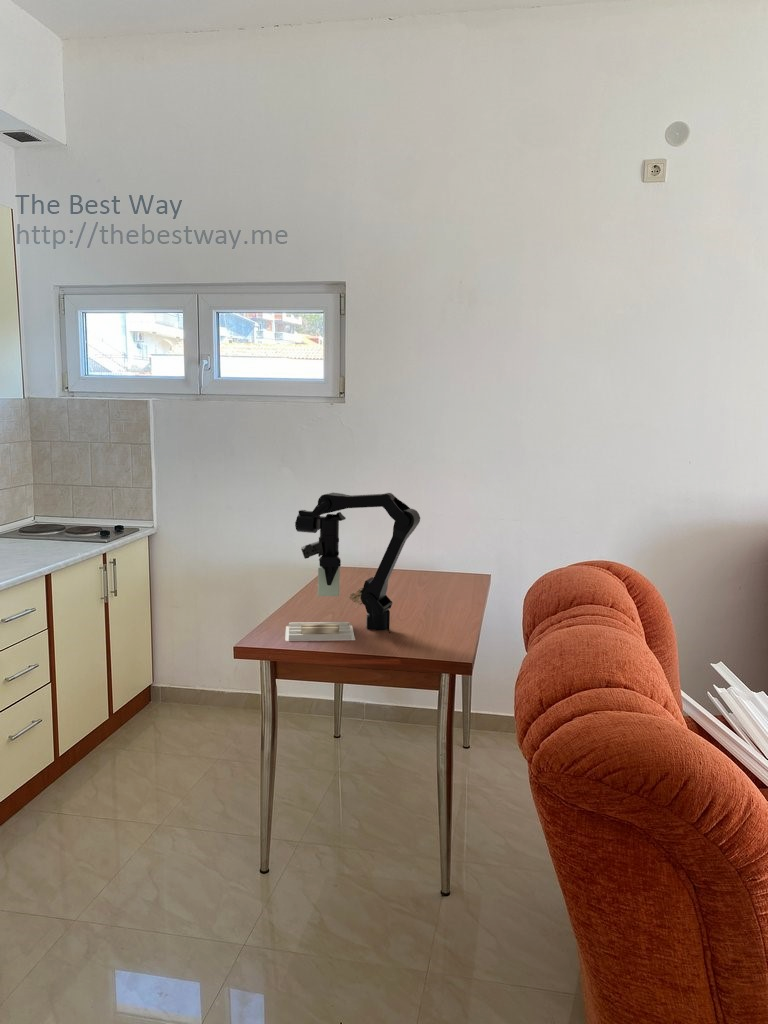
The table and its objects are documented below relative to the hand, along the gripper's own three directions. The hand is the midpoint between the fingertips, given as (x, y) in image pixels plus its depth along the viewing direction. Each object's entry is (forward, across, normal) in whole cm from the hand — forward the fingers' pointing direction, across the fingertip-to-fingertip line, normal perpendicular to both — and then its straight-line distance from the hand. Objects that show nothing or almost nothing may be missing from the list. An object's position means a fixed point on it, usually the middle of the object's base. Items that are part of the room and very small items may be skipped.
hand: (328, 584), depth 242 cm
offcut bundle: (+12, +16, -3) cm, 21 cm away
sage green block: (+4, 0, 0) cm, 4 cm away
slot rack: (+13, +12, -3) cm, 18 cm away
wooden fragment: (+14, -38, +15) cm, 43 cm away
